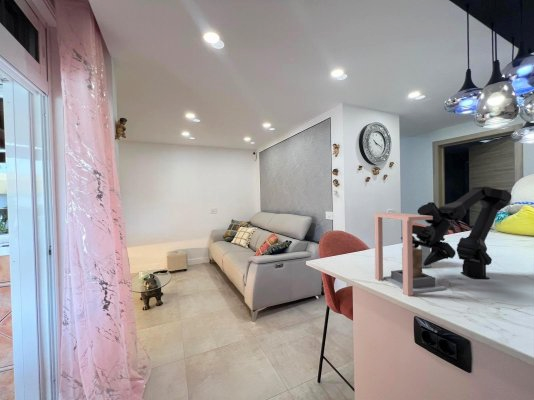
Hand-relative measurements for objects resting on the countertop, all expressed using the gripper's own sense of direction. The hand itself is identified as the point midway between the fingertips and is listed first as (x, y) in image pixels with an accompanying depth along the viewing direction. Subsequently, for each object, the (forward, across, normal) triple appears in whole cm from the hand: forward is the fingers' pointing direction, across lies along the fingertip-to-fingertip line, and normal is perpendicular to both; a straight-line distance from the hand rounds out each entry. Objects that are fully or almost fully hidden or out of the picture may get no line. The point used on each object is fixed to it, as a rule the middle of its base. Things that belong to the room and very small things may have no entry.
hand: (413, 261), depth 83 cm
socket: (+7, 0, +6) cm, 9 cm away
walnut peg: (+6, 0, +5) cm, 8 cm away
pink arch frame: (+10, 0, +2) cm, 10 cm away
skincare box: (-8, -18, +21) cm, 29 cm away
